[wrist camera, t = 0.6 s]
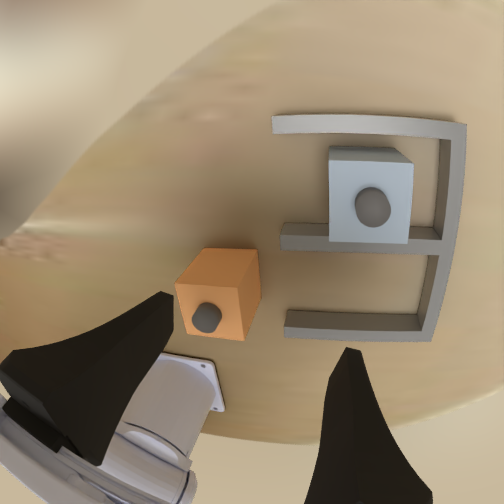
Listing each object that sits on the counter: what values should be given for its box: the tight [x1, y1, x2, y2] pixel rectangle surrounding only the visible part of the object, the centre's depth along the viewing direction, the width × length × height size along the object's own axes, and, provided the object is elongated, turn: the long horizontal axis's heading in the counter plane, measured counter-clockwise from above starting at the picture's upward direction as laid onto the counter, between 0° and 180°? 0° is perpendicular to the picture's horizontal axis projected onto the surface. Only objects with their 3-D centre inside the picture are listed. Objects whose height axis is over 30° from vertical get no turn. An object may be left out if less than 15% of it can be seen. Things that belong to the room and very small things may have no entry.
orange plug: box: [175, 248, 261, 341], centre depth 21 cm, size 4×4×6 cm
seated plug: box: [329, 146, 414, 244], centre depth 16 cm, size 4×4×6 cm
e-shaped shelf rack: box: [272, 114, 467, 342], centre depth 19 cm, size 11×15×2 cm
